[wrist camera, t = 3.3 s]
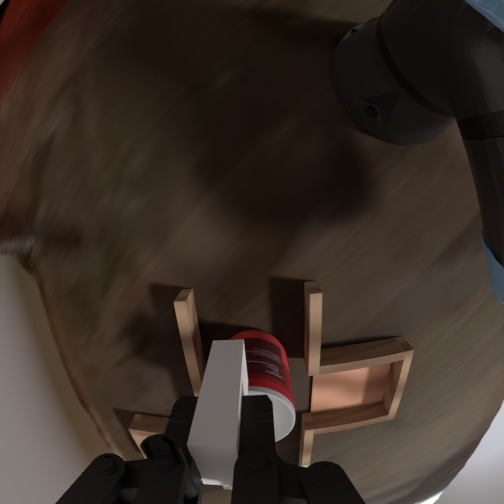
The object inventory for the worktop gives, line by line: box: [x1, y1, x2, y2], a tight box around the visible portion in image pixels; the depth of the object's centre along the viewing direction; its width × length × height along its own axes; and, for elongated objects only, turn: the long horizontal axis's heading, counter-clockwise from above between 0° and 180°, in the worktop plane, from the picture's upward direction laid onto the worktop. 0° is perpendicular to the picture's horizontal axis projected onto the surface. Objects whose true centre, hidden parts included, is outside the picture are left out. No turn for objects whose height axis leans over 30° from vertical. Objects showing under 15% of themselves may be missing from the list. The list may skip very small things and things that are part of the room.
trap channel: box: [128, 281, 414, 489], centre depth 32 cm, size 38×38×4 cm
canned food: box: [229, 329, 295, 442], centre depth 26 cm, size 8×8×11 cm
